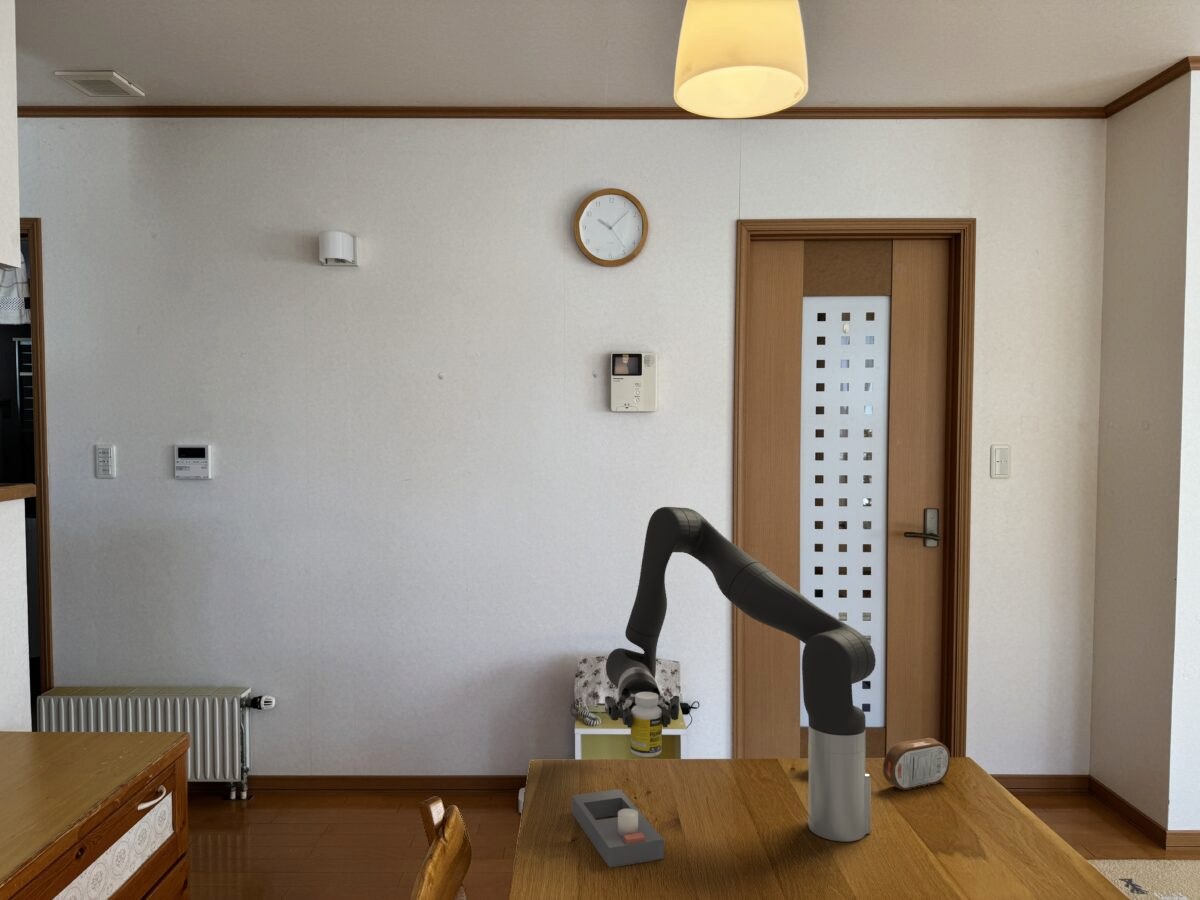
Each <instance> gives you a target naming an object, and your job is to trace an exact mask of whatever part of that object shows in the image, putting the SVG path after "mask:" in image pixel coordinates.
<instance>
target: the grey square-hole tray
mask: <svg viewBox="0 0 1200 900" xmlns="http://www.w3.org/2000/svg"><path fill="white" fill-rule="evenodd" d="M571 814H572V815H573V817H574V819H575V820H576V821H577V823H578V824H579V826H580V827H581V829H582V828H583V829H582V830H583V832H584V833H585V834H586V836H587V837H588V839H589V841H590V842H591V843H592V844H593V846H594V848H595V849H596V851H597V852H598V853H599V856H600V857H601V858H602V859H603V861H604V862H605V864H606V863H607V864H606V865H607V867H608V866H609V867H608V868H609V869H611V868H616V867H622V866H623V867H624V866H628V865H633V864H640V863H641V864H642V863H647V862H653V861H658V860H659V861H660V860H665V839H664V838H663V837H662V835H661V834H660V833H659V832H658V830H656V828H655V827H654V826H653V825H652V823H650V822H649V820H648V819H647V818H646V816H644V814H642V812H641V811H640V810H639V809H638V808H637V807H636V805H635V804H634V803H633V802H632V801H631V800H630V799H629V797H627V795H626V794H625V793H624V792H623V791H622V790H621V789H620V788H618V789H611V790H610V789H609V790H602V791H597V792H596V791H595V792H594V791H593V792H587V793H580V794H573V795H571ZM609 816H610V817H609Z"/></svg>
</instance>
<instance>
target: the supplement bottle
mask: <svg viewBox="0 0 1200 900" xmlns="http://www.w3.org/2000/svg"><path fill="white" fill-rule="evenodd" d="M635 703H636V706H634V707H633V708H632V710H631V713H632V728H630V739H629V740H630V744H629V745H630V752H631V753H632V754H633V755H636V756H639V757H644V758H652V757H656V756H658V755H660V754H661V753H662V746H663V745H662V744H663V741H662V740H663V732H662V731H663V725H662V710H661V709H660V708H659V707H658V706H657V705H658V695H657V694H656V693H652V692H640V693H637V694H636V695H635Z"/></svg>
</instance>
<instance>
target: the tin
mask: <svg viewBox="0 0 1200 900" xmlns="http://www.w3.org/2000/svg"><path fill="white" fill-rule="evenodd" d="M950 763H951V754H950V751H949V748H948V747H947V746H946V745H945V744H943V743H942V742H941V741H938V740H937V739H935V738H932V737H926V738H920V739H915V740H913V739H912V740H908V741H901V742H898V743H895V744H894V745H893V746H892V747H891V748H890V749H889V750H888V751H887V752H886V755H885V756H884V760H883V764H882V772H883V776H884V779H885V780H886V781H887V783H888V784H890V785H892V786H894V787H896V788H898V789H899V790H904V791H907V790H913V789H917V788H916V787H918V788H921V787H920V786H923V787H927V786H926V785H928V786H931V785H930V784H933V785H936V784H935V783H937V784H938V783H940V782H942V780H944V779H945V777H946V776H947V774H948V772H949V770H950ZM912 788H913V789H912Z"/></svg>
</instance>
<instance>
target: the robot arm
mask: <svg viewBox="0 0 1200 900" xmlns="http://www.w3.org/2000/svg"><path fill="white" fill-rule="evenodd" d="M643 545H644V546H643V552H642V553H643V554H642V560H641V565H640V571H639V572H640V574H639V580H638V585H637V590H636V595H635V600H634V603H633V606H632V609H631V612H630V615H629V619H628V622H627V625H626V629H625V632H624V633H625V638H626V639H627V641H629V642H630V643H631V644H633V645H635V646H636V647H637V648H640V649H641V650H642V651H643V653H642V652H638V651H634V650H630V649H627V648H623V647H622V648H621V647H619V648H615V649H613V650H612V651H611V652H610V653H609V654H608V656H607V659H606V663H605V672H606V673H605V674H606V677H607V678H608V680H609V682H610V683H612V685H614V686H615V687H616V688H617V695H618V699H616V698H614V697H612V696H610V695H607V696H604V711H605V713H606V714H607V716H608V717H609V718H610V719H611V721H618V720H619V719H621V721H622V723H623V725H624V726H627V728H629V729H631V728H632V713H631V710H632V708H633V707H634V706H636V703H635V695H636V694H637V693H640V692H652V693H656V694H657V695H658V705H657V706H658V707H659V708H660V709H661V710H662V728H668V725H669V726H670V725H671V724H672V723H671V721H672V720H674V721H676V720H679V715H680V696H679V695H673V696H672V697H670V698H669V699H666V698H665V697H664V696H663V695H662V693H661V691H660V688H659V686H658V684H657V682H656V673H657V650H658V649H657V648H658V643H659V637H660V634H661V631H662V629H663V625H664V622H665V618H666V614H667V609H668V599H667V598H668V597H667V591H666V583H665V581H666V580H665V579H666V578H665V577H666V570H667V567H668V564H669V561H670V559H671V556H672V554H673V553H684V554H687V555H689V556H691V557H692V558H694V559H696V560H697V561H699V562H700V563H701V564H703V565H704V566H705V567H706V568H707V569H708V570H709V571H710V572H711V574H712V575H713V578H714V580H715V582H716V584H717V586H718V589H719V590H720V592H721V593H722V595H723V597H724V596H725V598H726V599H727V600H729V602H731V604H733V605H734V606H735V607H737V608H738V609H739V610H740V611H742V613H744V614H746V615H747V616H748V617H750V618H751V619H752V620H754V621H757V622H759V623H761V624H763V625H765V626H769V627H771V628H773V629H775V630H779V631H781V632H783V633H786V634H788V635H790V636H793V638H796V639H797V640H799V641H801V643H802V644H805V645H804V647H803V651H802V656H801V672H802V673H801V675H802V676H801V677H802V697H803V705H804V708H805V710H806V711H805V712H806V713H807V717H808V719H807V720H808V743H809V759H808V815H807V816H808V828H809V830H810V831H811V832H812V833H813V834H815V835H817V836H818V837H821V838H823V839H827V840H830V841H834V842H855V841H858V840H861V839H863V838H864V837H865V836H866V834H867V835H868V834H871V833H872V831H871V830H872V820H871V819H872V815H871V814H872V804H871V803H872V802H871V799H872V797H871V796H872V790H871V789H872V787H871V786H872V782H871V781H872V780H871V779H872V778H871V775H870V774H869V773H868V772H866V771H867V770H866V768H867V767H866V766H867V765H866V760H867V758H866V756H867V755H866V750H867V749H866V728H867V726H866V722H867V721H866V714H865V712H864V711H863V710H862V708H860V707H858V706H856V705H854V700H853V685H854V684H857V683H859V682H861V681H863V680H865V679H866V678H868V677H869V676H871V674H873V672H874V670H875V667H876V663H877V661H876V654H875V651H874V649H873V646H872V645H871V643H870V642H869V641H868V639H867V638H866V637H865V636H864V635H863V634H862V633H861V632H859V631H858V630H857V629H855V628H853V627H852V626H850V625H848V624H847V623H845V622H844V621H841V620H840V619H839V618H837V617H835V616H833V615H832V614H830V613H828V612H827V611H825V610H823V609H822V608H820V607H819V606H818V605H816V604H814V603H813V602H812V601H810V600H809V599H808V598H807V597H805V596H804V595H803V594H801V593H800V592H799V591H798V590H796V589H795V588H793V587H792V586H791V585H789V584H788V583H787V582H785V581H784V580H783V579H781V578H780V577H779V576H778V575H777V574H775V573H774V571H771V570H770V569H769V568H768V567H766V566H765V565H764V564H763V563H761V562H759V561H758V560H757V559H755V558H754V557H752V556H751V555H749V554H748V553H747V552H746V551H744V550H743V549H742V548H740V547H739V546H737V545H736V544H734V542H732V541H730V540H728V539H727V538H726V537H725V536H724V535H723V534H722V533H720V532H719V530H717V528H715V526H714V525H712V524H711V523H710V521H708V520H707V519H706V518H705V517H704V516H703V515H701V514H700V513H699V512H698V511H697V510H694V509H692V508H688V507H676V506H662V507H659V508H657V509H656V510H655V511H654V512H653V513H652V515H651V516H650V518H649V521H648V523H647V527H646V533H645V539H644V544H643Z"/></svg>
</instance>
